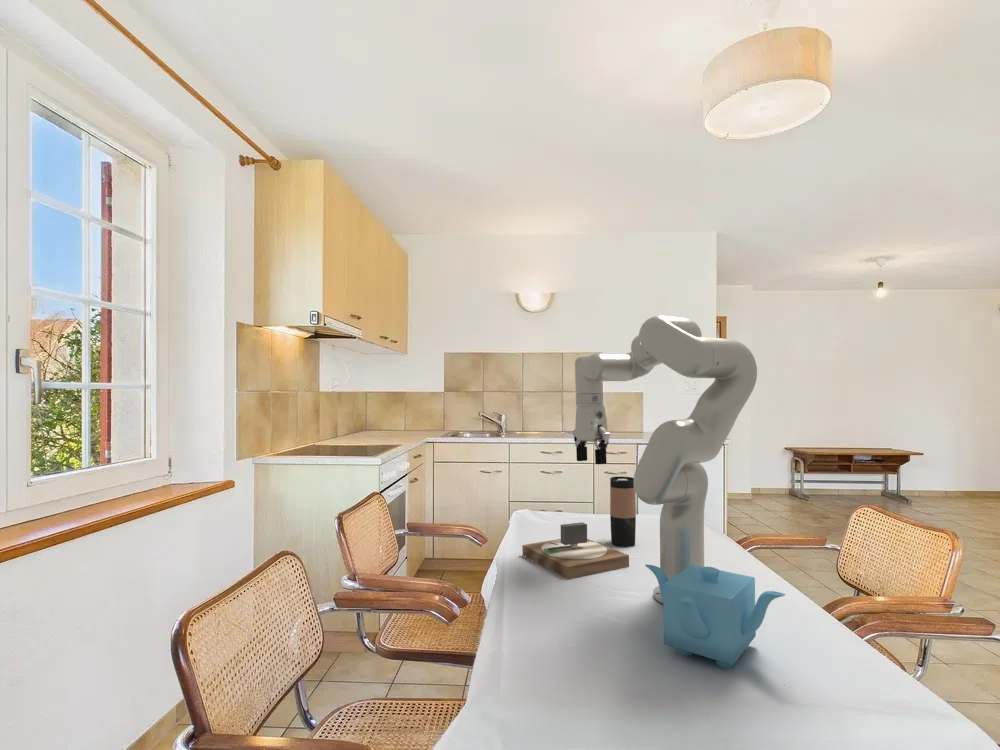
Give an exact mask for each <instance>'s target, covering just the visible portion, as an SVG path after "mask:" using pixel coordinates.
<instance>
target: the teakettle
mask: <svg viewBox="0 0 1000 750" xmlns="http://www.w3.org/2000/svg"><path fill="white" fill-rule="evenodd" d="M644 566H645V567H646V568H647V569H649V570H650V571H651V572H652V573H653V574H654V576H655V578H656V579H657V583H658V586H659V587H660V592H661V596H662V600H663V603H662V605H663V607H662V608H663V644H664V645H666V646H668V647H672V648H674V649H675V653H677V655H681V656H685V657H686V656H692V655H693V654H694V655H698V656H702V657H704V658H707V659H711V660H714V661H715V664H716V665H717V666H718V667H720V668H723V669H729V670H730V669H733V668H735V664H736V662H737V661H738V660H739V659H740V657H741V656H742V655H743V653H745V652H747V648H748V647H749V645H750V644H751V643H752V642H753V640H754V639H755V638H756V635H757V631H758V629H759V628H760V627H761V626H762V624H763V622H764V619H765V617H766V613H767V610H768V608H769V605H770V604H771V602H772V601H773V600H776V599H777V598H781V597H785V596H786V593H783V592H779V591H775V590H766V591H763V592H762V593H761V594H760V595H759V596H758V598H757V599H756V577H754V576H750V575H745V574H740V573H734V572H730V571H726V570H720V569H719V568H717V567H712V566H704V567H701V566H696V565H690V566H689V567H687V568H686V569H684V570H683V571H681V572H680V573H678V574H677V575H675V576H674V577H673V578H671V579H670V580H668V578H667V576H666V574H665V573H664V571H663V570H662V569H661V568H660V566H657V565H653V564H645V565H644ZM756 600H757V601H756Z"/></svg>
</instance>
